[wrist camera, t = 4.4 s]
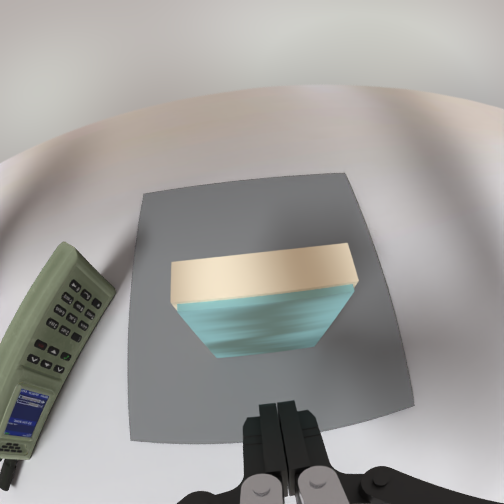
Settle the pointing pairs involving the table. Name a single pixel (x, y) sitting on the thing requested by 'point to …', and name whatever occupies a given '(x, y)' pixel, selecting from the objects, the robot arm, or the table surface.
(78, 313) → the brick cell phone
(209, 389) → the mat
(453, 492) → the robot arm
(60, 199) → the table surface
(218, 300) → the tile
